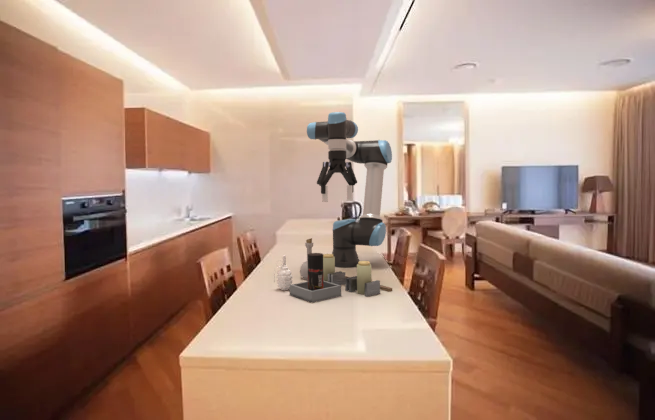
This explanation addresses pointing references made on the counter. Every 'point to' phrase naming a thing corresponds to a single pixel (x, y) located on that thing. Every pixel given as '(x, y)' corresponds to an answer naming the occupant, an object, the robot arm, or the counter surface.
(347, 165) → the robot arm
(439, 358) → the counter surface
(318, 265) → the deodorant
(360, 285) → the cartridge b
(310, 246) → the potion bottle
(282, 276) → the hand grenade
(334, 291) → the tray
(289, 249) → the counter surface
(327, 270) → the cartridge
